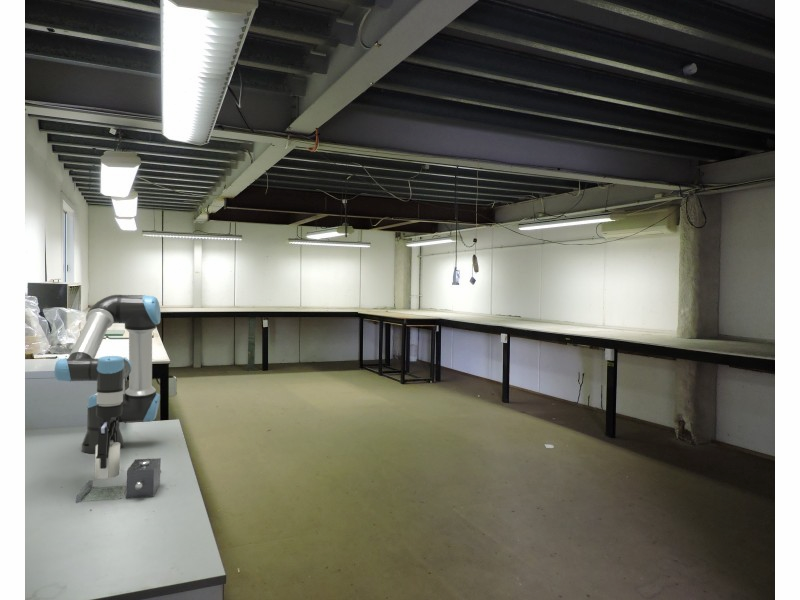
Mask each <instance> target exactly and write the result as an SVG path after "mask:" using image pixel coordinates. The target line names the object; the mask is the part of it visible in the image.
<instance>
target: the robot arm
mask: <svg viewBox="0 0 800 600" xmlns="http://www.w3.org/2000/svg"><path fill="white" fill-rule="evenodd" d="M160 306H161V305H160V302H159V300H158V298H157V297H155V296H153V295H145V294H143V295H142V294H140V295H137V294H113V295H112V294H111V295H107V296H106V297H104V298H101V299H100V300H99V301H97V302H96V303H94V304H93V305H92V306H91V307H90V308H89V310H88V311H87V313H86V315H85V324H84V325H83V327H82V330H81V332H80V334H79V336H78V337H77V340H76V342H75V344H74V345H73V347H72V349H71V352H70V354H69V356H68V358H66V357H65V358H60V359H58V360H57V361H56V362H55V365H54V378H55V379H56V380H57V381H59V382H87V381H88V382H96V393H93V394H92V395H90V396H89V397H88V399H87V400H88V401H87V406H86V407H87V418H86V419H87V422H86V424H87V426H86V433H85V436H84V437H83V440H82V443H81V451H82V452H83V453H86V454H95V451H96V445H98V452H97V457H96V459H99V478H108V477H109V458H110V457H109V448H110V440H113V442H119V443H120V449H122V448H123V447H124V445H125V444H124V438H123V435H122V434H123V433H122V431H121V430H120V423H145V422H153V421H154V420H156V418H157V415H158V411H159V408H160V407H159V406H160V401H161V394H160V393H158V392H157V390H156V388H155V387H154V386H153V331H154V330H156V329H157V325H160V323H161V318H162V317H161V316H162V315H161V307H160ZM114 324H124V330H126V331H127V332H128V358H126V357H122V356H119V355H105V356H101V357H99V358H96V356H97V354H98V351H99V350H100V347H101V345H102V342H103V341H104V340H103V339H104V337H105V335H106V333H107V330H108V329H109V328H111V327H112V326H113V325H114ZM126 378H128V379H129V380H128V388H127V389H125V391H124V379H126Z"/></svg>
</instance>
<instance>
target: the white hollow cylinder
mask: <svg viewBox="0 0 800 600" xmlns="http://www.w3.org/2000/svg"><path fill="white" fill-rule="evenodd" d="M97 452H98V445H96V451H95V453H94V455H95V457H94V458H95V459H94V478H95V479H96V480H107V479H113V478H116V477H118V476H119V475H120V466H121V465H120V463H121V462H120V461H121V448H120V443H119V442H113V440H110V448H109V457H110V458H109V477H108V478H99V459H96V457H97Z"/></svg>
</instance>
